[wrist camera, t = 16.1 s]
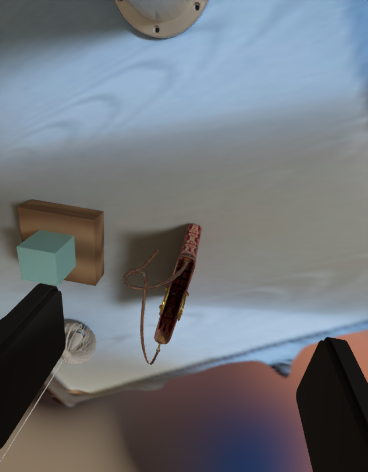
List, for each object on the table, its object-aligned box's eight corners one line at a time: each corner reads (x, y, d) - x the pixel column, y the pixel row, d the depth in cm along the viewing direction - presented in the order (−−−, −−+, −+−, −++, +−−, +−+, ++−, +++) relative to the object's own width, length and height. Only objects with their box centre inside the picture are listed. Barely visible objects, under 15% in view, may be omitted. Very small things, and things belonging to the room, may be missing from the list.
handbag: (214, 202, 46) (203, 301, 24) (181, 299, 55) (151, 435, 33) (171, 189, 46) (119, 275, 24) (146, 288, 55) (91, 417, 33)
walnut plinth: (32, 199, 50) (17, 207, 46) (103, 211, 49) (93, 220, 46) (39, 262, 56) (27, 273, 52) (103, 273, 55) (95, 285, 51)
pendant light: (89, 354, 66) (-4, 530, 39) (54, 333, 64) (-69, 501, 38) (107, 331, 62) (17, 510, 35) (70, 309, 60) (-55, 477, 34)
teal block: (39, 229, 48) (16, 246, 42) (74, 235, 47) (54, 253, 42) (43, 260, 51) (21, 279, 45) (75, 266, 50) (57, 286, 45)
